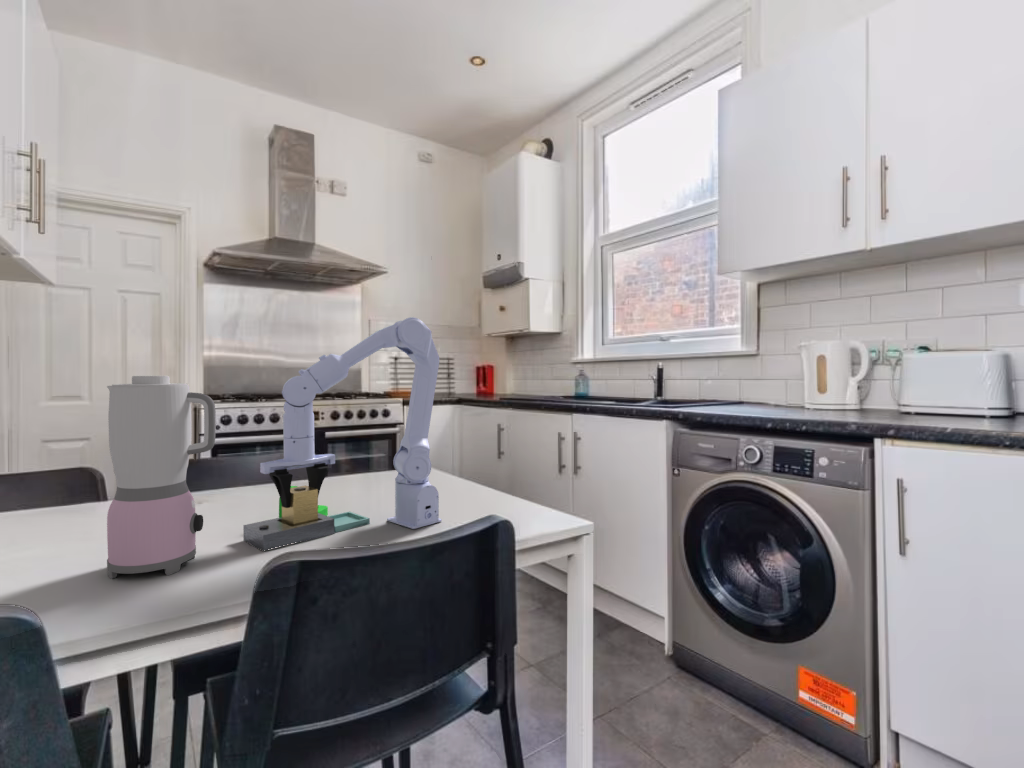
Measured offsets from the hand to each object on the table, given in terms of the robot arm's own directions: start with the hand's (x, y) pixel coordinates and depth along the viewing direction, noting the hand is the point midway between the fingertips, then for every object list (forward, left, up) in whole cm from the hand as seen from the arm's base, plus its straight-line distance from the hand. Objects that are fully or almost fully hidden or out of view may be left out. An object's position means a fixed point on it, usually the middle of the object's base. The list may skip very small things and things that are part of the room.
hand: (299, 504), depth 103 cm
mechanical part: (+9, -6, -7) cm, 13 cm away
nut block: (0, 0, -4) cm, 4 cm away
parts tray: (0, -9, -6) cm, 11 cm away
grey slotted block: (0, +2, -6) cm, 6 cm away
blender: (+1, +23, -6) cm, 24 cm away
